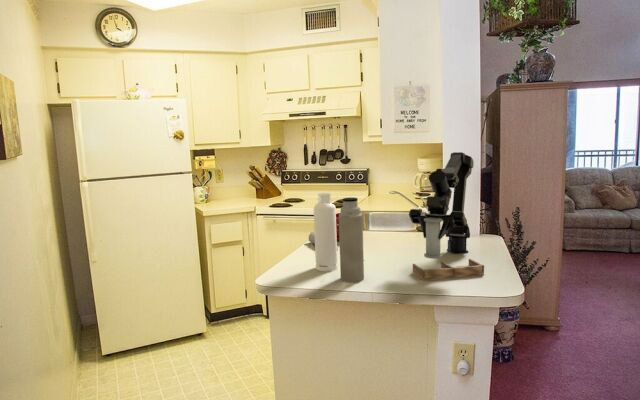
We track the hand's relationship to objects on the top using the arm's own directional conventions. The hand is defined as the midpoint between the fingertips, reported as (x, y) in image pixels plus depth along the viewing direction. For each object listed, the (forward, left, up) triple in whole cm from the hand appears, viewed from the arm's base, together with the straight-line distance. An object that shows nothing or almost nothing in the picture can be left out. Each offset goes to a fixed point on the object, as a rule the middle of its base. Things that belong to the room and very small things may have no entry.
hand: (431, 238), depth 149 cm
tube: (+28, -50, -14) cm, 59 cm away
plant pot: (+16, -63, -14) cm, 66 cm away
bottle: (+33, -20, -13) cm, 41 cm away
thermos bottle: (+27, -5, -13) cm, 30 cm away
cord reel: (-1, -1, -7) cm, 7 cm away
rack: (-6, -1, -13) cm, 15 cm away
